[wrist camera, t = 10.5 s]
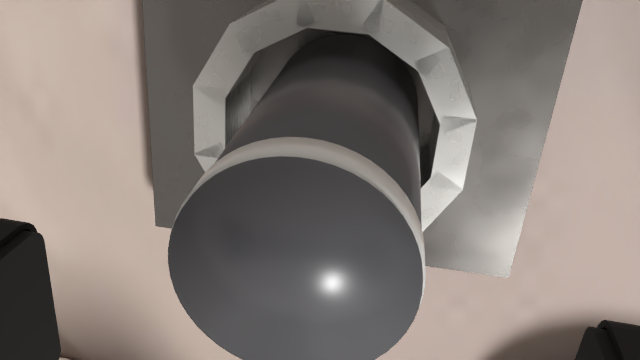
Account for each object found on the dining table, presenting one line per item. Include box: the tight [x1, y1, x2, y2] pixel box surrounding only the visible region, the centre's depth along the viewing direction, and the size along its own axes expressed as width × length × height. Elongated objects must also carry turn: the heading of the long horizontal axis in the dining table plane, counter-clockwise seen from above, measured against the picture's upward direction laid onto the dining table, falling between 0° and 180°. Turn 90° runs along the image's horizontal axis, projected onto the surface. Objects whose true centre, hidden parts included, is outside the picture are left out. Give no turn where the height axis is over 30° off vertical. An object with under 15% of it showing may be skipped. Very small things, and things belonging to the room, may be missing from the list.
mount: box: [142, 0, 583, 278], centre depth 20 cm, size 14×12×4 cm
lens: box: [168, 35, 426, 360], centre depth 16 cm, size 5×5×10 cm
